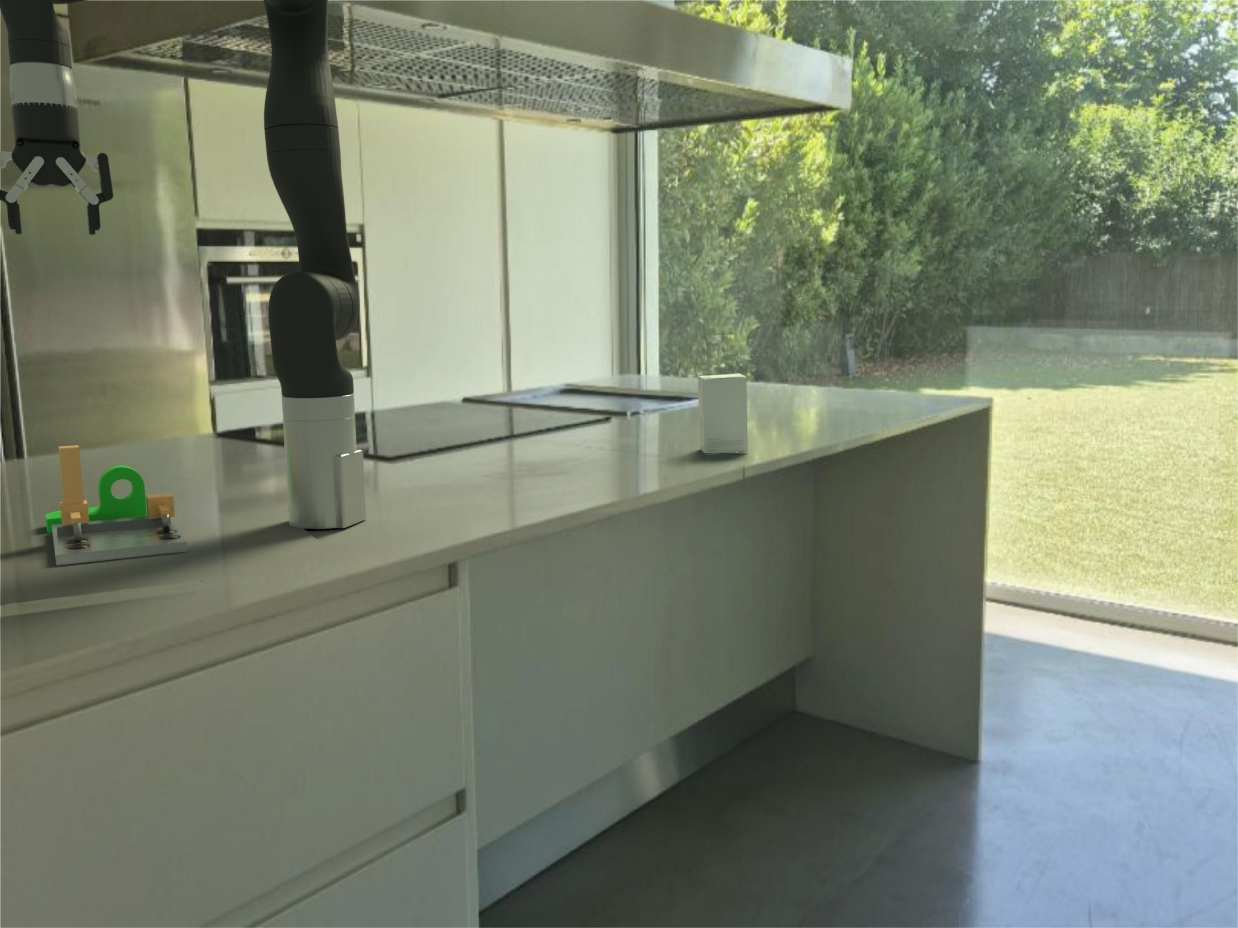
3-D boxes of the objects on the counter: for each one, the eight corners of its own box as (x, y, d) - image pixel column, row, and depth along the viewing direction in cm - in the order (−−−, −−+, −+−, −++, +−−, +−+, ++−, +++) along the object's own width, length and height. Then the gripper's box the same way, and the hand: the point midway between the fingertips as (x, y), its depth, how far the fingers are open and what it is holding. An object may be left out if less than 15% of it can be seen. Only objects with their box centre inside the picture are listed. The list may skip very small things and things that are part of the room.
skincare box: (742, 453, 209) (742, 373, 207) (748, 457, 203) (749, 375, 201) (697, 454, 208) (697, 374, 206) (702, 459, 202) (702, 376, 200)
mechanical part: (141, 516, 157) (137, 460, 155) (147, 524, 151) (143, 465, 150) (45, 526, 151) (40, 467, 150) (47, 534, 146) (42, 473, 144)
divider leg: (88, 527, 142) (81, 444, 140) (92, 538, 135) (84, 452, 133) (62, 529, 140) (54, 446, 139) (64, 541, 133) (56, 454, 132)
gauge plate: (168, 522, 151) (165, 486, 151) (187, 551, 134) (184, 510, 133) (52, 533, 145) (49, 496, 144) (56, 565, 127) (52, 523, 127)
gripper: (104, 112, 150) (113, 236, 152) (-19, 105, 143) (-7, 235, 146) (107, 103, 143) (117, 234, 145) (-21, 96, 137) (-8, 232, 139)
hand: (55, 234), depth 146 cm, fingers open, 8 cm apart
